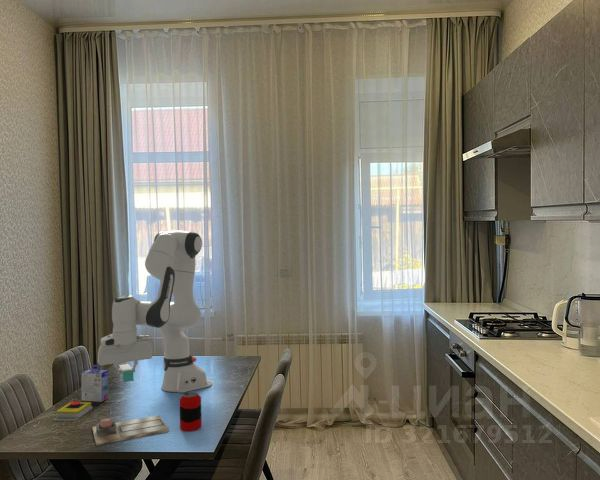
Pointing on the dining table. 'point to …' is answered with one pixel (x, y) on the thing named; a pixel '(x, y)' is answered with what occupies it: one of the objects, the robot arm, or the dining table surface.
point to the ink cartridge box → (95, 384)
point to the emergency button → (73, 411)
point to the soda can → (190, 412)
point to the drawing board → (129, 429)
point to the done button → (105, 423)
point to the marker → (126, 373)
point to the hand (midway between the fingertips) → (126, 373)
